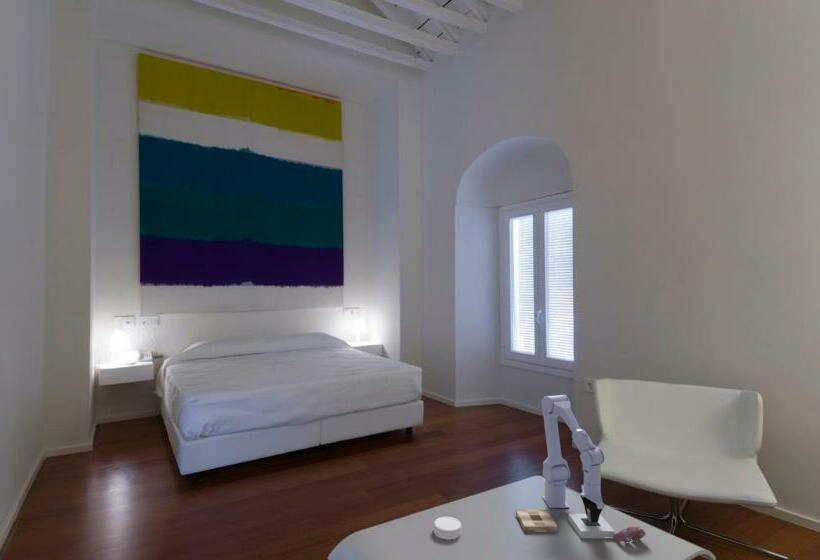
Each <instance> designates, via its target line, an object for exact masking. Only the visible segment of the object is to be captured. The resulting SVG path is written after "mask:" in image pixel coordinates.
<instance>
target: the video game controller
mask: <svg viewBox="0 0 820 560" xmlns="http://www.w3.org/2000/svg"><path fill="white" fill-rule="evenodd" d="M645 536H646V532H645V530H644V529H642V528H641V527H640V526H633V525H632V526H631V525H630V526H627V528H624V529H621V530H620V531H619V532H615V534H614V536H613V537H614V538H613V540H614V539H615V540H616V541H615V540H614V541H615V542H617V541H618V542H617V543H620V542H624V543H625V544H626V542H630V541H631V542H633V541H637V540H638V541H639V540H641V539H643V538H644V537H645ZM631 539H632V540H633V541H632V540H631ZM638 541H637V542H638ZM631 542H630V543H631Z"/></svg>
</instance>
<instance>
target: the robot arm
mask: <svg viewBox="0 0 820 560" xmlns="http://www.w3.org/2000/svg"><path fill="white" fill-rule="evenodd" d="M540 404H541V412H542V416H543V422H544V431H545V441H546V449H547V457H546V459H545V460H544V461H543V463H542V466H543V467H542V476H543V479H544V480H545V481H544V495H542V498H543V500H544V501H545V503H546V505H547V506H548V507H549V508H550V509H569V508H570V506H569V504H568V503H567V502H566V483H568V480H569V479H570V477H571V471H570V467H569V465H568V461H567V460H566V459H564V458H563V457H562V456H563V455H562V450H561V442H560V441H561V440H560V433H559V423H558V418H559V417H561V418H562V420H563V421H564V422H565V424H566V425H567V426H568V428H569V430H570V431H571V433H572V435H571V438H572V440H573V442H574V443H575V445H576V447H577V449H578V450H579V452H580V455H579V458H580V462H581V465H582V466H581V467H582V468H583V484H581V486H580V488H581V491H582V492H580V495H579V496H580V498H581V501H582V503H583V506H584V512H585V514H586V515H587V507H589V510H590V517H591V522H592V523H598V520H599V516H600V515H601V513H602V512H603V510H604V509H605V503H604V502H603V499H602V498H603V497H602V494H601V484H602V483H601V481H602V480H601V479H602V478H601V475H602V474H601V471H602V469H601V467H602V466H601V465H603V464H604V462H605V455H604V452H603V450H602V449H601V448H600V447H598V446H597V445H596V444H594V443H593V441H592V439H591V438H590V436H589V434H588V433H587V431H586V430H585V429H582V428H581V427H580V425H579V423H578V421H577V419H576V417H575V415H574V413H573V411H572V402H571V401H570V399H569V397H568V396H567V394H560V395H559V394H557V395H545V396H543V398H542V400H541V402H540Z"/></svg>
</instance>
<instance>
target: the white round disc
mask: <svg viewBox="0 0 820 560" xmlns="http://www.w3.org/2000/svg"><path fill="white" fill-rule="evenodd" d="M434 533H435V534H434ZM433 534H434V535H435V536H436V537H437V538H439V539H441V538H442V540H444V539H446V540H445V541H451V539H453V540H456V538H457V539H459V538H460V537H461V535H462V523H461V521H460V520H459V519H458V518H455V517H453V516H440V517H438V518H436V519H435V520H434V522H433ZM459 536H460V537H459Z"/></svg>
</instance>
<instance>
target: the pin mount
mask: <svg viewBox="0 0 820 560" xmlns="http://www.w3.org/2000/svg"><path fill="white" fill-rule="evenodd" d="M515 515H516V518H517V519H518V522H519V524H520V526H521V528H522V530H523V532H524V533H558V532H559V531H558V525H557V523H556V522H555V520H554V519H553V518H552V516H551V515H550V512H549V511H548V509H515Z"/></svg>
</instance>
